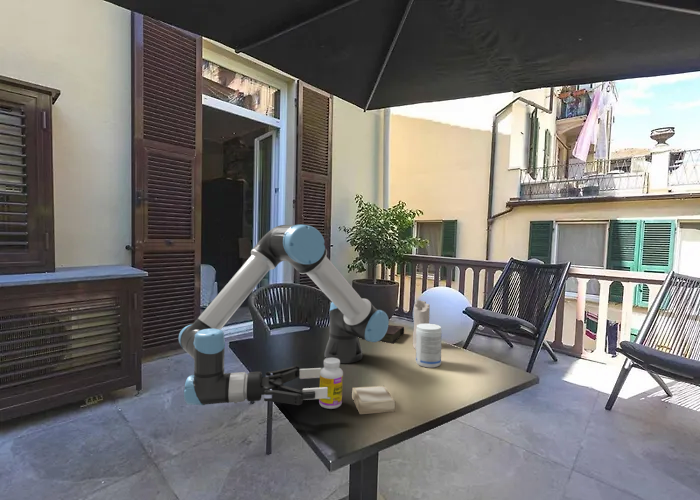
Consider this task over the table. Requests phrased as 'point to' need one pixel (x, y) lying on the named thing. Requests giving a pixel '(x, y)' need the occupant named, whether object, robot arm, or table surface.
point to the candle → (420, 316)
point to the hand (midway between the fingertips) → (324, 381)
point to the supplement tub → (428, 345)
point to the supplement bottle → (331, 383)
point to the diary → (392, 334)
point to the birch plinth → (373, 399)
